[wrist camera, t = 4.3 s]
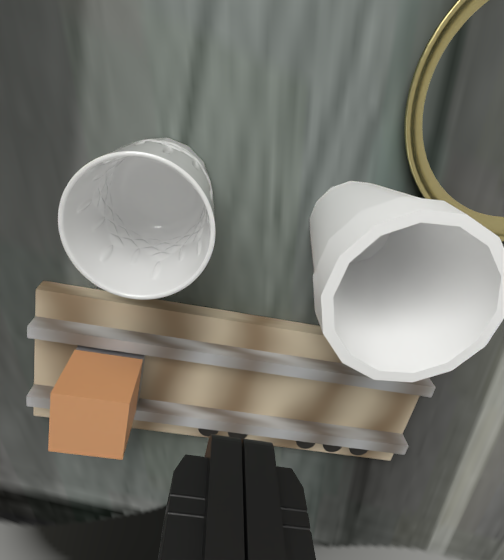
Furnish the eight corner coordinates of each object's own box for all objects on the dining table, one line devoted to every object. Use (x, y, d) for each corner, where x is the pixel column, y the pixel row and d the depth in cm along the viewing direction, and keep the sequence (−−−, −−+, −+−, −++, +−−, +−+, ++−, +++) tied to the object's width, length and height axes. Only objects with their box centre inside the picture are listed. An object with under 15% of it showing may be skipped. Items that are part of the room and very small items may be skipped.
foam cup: (319, 139, 31) (373, 180, 19) (435, 183, 33) (552, 245, 21) (270, 260, 35) (292, 357, 23) (378, 294, 36) (449, 400, 25)
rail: (40, 403, 39) (26, 428, 37) (43, 280, 35) (27, 298, 32) (385, 448, 43) (395, 473, 41) (431, 344, 39) (446, 364, 36)
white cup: (182, 257, 34) (165, 324, 25) (87, 200, 32) (31, 250, 23) (240, 171, 32) (245, 211, 23) (141, 103, 30) (103, 116, 21)
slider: (77, 389, 37) (48, 451, 31) (81, 337, 35) (50, 392, 29) (139, 397, 38) (122, 459, 32) (146, 347, 36) (129, 403, 30)
